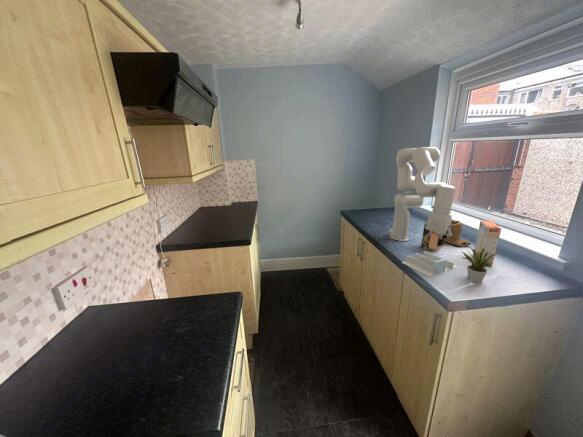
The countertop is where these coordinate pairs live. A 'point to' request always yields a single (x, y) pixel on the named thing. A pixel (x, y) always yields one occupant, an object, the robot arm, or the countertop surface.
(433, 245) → the peach cardboard carton
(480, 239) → the cracker box
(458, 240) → the tan piece
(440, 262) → the wall shelf
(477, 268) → the house plant
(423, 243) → the coffee box
